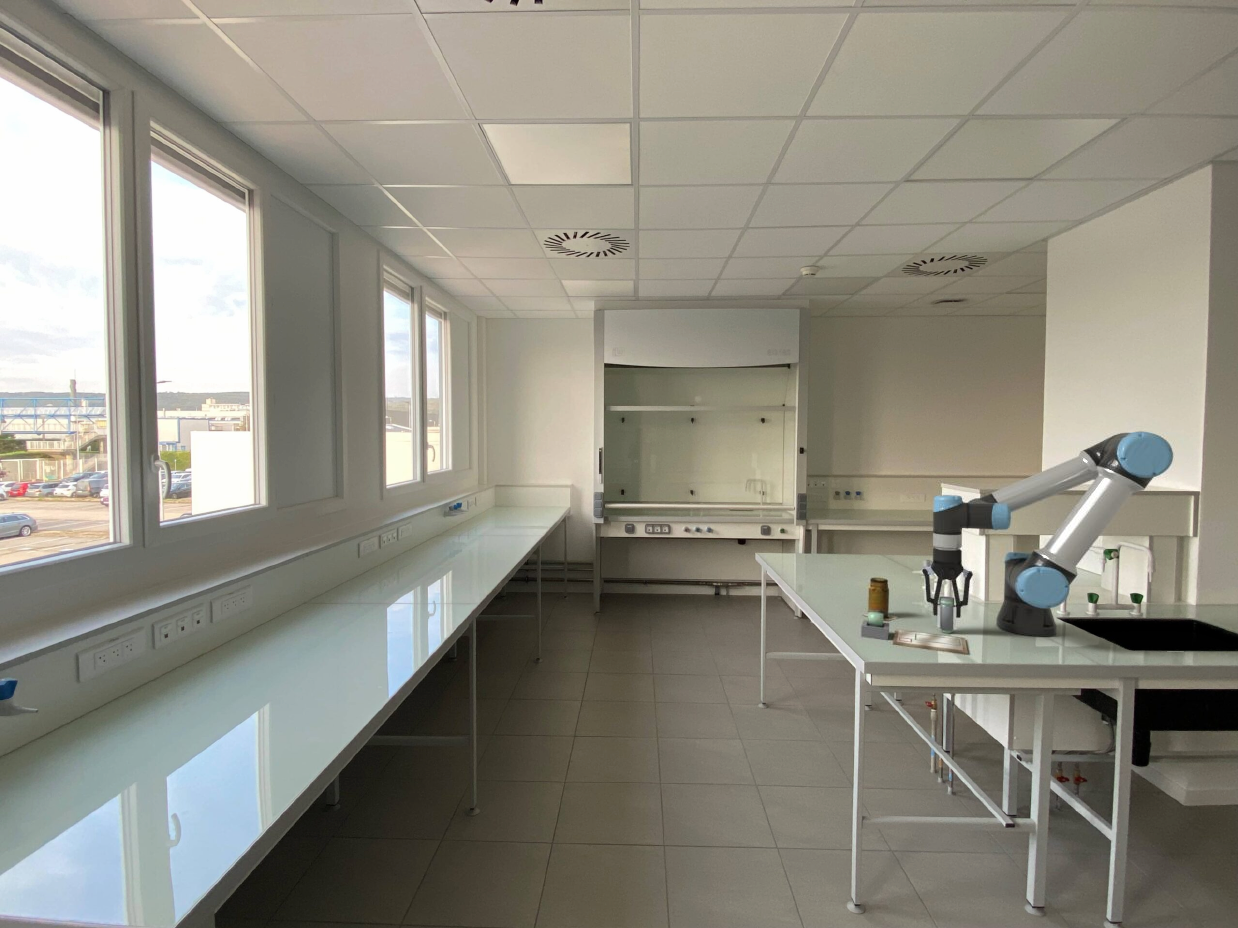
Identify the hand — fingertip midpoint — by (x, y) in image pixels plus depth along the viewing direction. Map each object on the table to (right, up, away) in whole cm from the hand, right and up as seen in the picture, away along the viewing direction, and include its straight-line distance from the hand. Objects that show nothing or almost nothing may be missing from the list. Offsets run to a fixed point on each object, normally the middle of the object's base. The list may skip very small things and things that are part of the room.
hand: (946, 627), depth 187 cm
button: (-22, +2, -4) cm, 23 cm away
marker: (0, -1, 0) cm, 1 cm away
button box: (-22, -1, -4) cm, 23 cm away
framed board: (-10, -2, -10) cm, 14 cm away
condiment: (-13, -1, +16) cm, 21 cm away
